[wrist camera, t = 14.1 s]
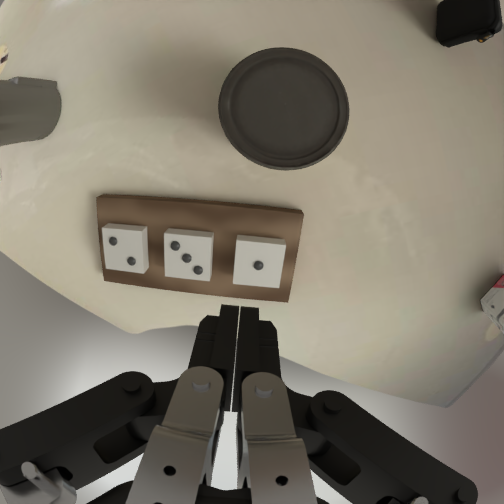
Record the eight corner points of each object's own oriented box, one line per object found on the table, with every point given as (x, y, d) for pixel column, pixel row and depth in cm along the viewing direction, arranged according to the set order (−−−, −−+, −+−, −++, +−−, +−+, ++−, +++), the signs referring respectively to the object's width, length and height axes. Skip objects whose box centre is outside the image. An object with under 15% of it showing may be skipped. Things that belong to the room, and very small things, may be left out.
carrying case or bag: (445, 58, 27) (509, 43, 13) (430, 48, 27) (493, 28, 13) (447, 10, 23) (502, -12, 9) (433, 1, 23) (486, -26, 9)
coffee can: (215, 113, 32) (191, 99, 19) (279, 65, 30) (293, 25, 17) (268, 174, 35) (275, 196, 22) (330, 126, 33) (373, 123, 20)
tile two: (108, 223, 36) (101, 228, 34) (147, 226, 36) (141, 231, 34) (111, 262, 38) (105, 269, 36) (148, 267, 38) (143, 274, 36)
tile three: (168, 228, 36) (163, 233, 34) (213, 232, 36) (211, 238, 34) (168, 269, 38) (164, 277, 36) (211, 274, 38) (209, 282, 36)
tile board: (103, 194, 36) (96, 197, 34) (301, 210, 37) (303, 214, 35) (109, 274, 41) (104, 280, 39) (286, 295, 42) (288, 302, 40)
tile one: (237, 234, 36) (236, 240, 34) (284, 239, 36) (286, 245, 34) (233, 276, 38) (232, 284, 36) (278, 280, 39) (279, 288, 37)
